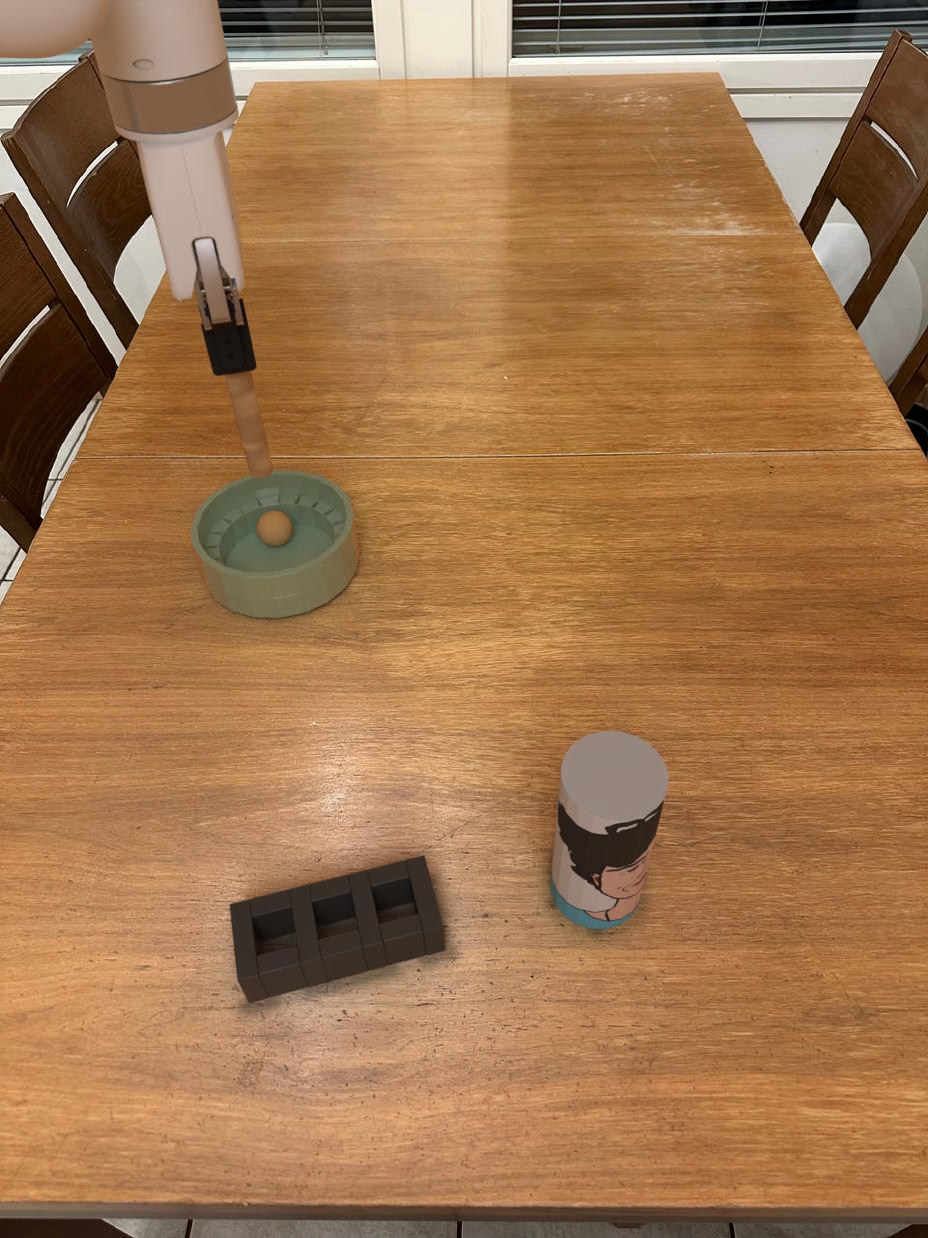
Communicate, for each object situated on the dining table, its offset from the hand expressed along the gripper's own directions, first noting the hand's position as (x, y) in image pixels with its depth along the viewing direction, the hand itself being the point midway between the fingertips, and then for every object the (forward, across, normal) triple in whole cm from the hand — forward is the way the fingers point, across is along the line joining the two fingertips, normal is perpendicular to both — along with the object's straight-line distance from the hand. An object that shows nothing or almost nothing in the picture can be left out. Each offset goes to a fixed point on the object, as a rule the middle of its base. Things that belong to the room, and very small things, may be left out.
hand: (233, 359), depth 71 cm
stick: (+11, 0, 0) cm, 11 cm away
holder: (+27, +34, -1) cm, 43 cm away
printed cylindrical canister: (+27, +35, +18) cm, 48 cm away
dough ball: (+25, -9, 0) cm, 26 cm away
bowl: (+27, -6, 0) cm, 28 cm away
